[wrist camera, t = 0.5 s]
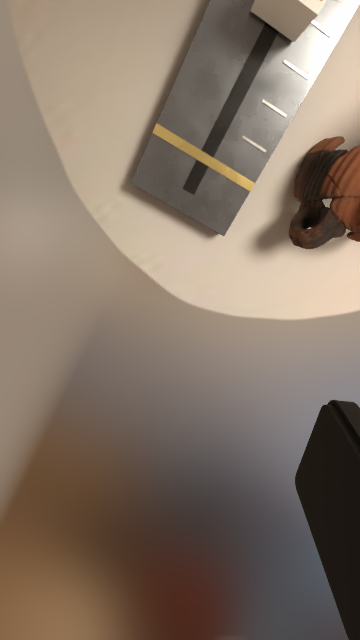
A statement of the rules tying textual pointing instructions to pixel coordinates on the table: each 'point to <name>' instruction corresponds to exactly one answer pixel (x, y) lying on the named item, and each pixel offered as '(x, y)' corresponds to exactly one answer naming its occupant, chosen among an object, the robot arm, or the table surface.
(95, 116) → the table surface
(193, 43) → the console
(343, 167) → the pottery mug
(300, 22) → the fader tab
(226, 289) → the table surface
